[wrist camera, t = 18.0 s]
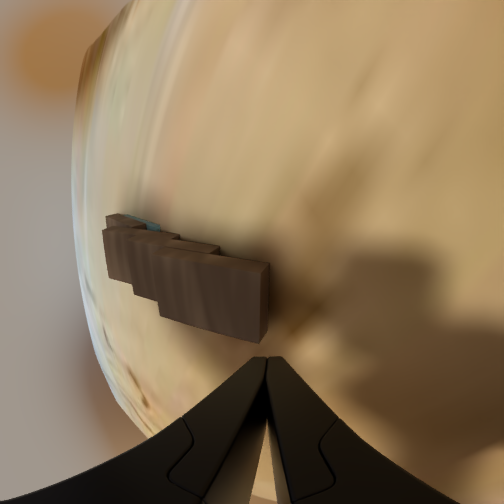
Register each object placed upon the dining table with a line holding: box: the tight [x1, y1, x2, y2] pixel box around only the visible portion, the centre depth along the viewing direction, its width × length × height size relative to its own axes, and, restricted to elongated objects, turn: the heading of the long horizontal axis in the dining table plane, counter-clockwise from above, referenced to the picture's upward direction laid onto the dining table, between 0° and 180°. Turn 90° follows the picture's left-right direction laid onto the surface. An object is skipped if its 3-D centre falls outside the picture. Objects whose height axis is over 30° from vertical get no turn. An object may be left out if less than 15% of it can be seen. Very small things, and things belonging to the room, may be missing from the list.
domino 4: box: [151, 247, 270, 344], centre depth 19 cm, size 2×5×8 cm
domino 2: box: [102, 226, 180, 284], centre depth 25 cm, size 2×5×8 cm
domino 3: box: [126, 235, 220, 302], centre depth 22 cm, size 2×5×8 cm
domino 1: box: [106, 214, 147, 230], centre depth 29 cm, size 2×5×8 cm
